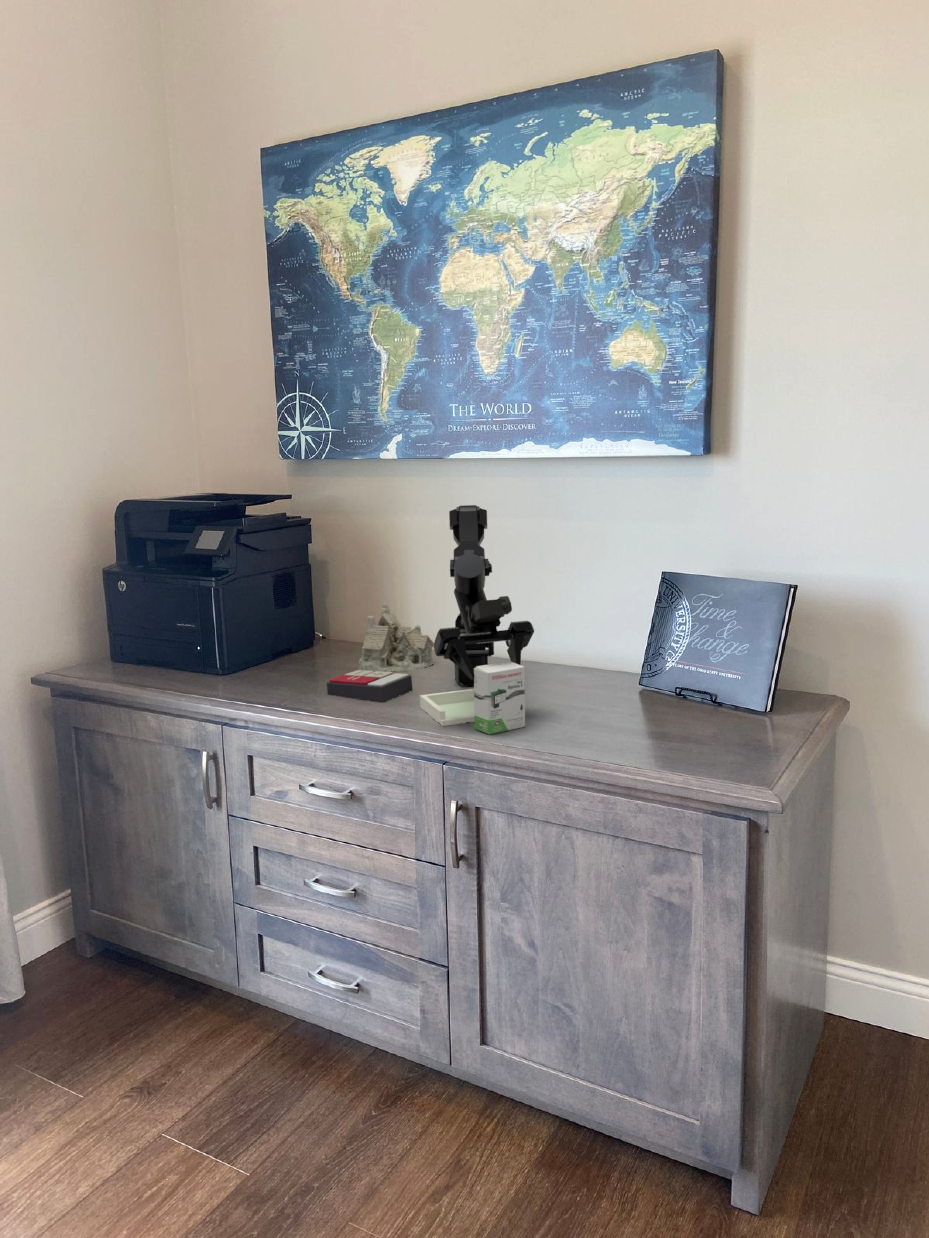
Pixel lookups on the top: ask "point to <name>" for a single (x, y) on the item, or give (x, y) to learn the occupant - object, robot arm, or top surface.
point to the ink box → (499, 697)
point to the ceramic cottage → (394, 645)
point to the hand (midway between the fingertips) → (496, 675)
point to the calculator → (370, 685)
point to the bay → (450, 706)
